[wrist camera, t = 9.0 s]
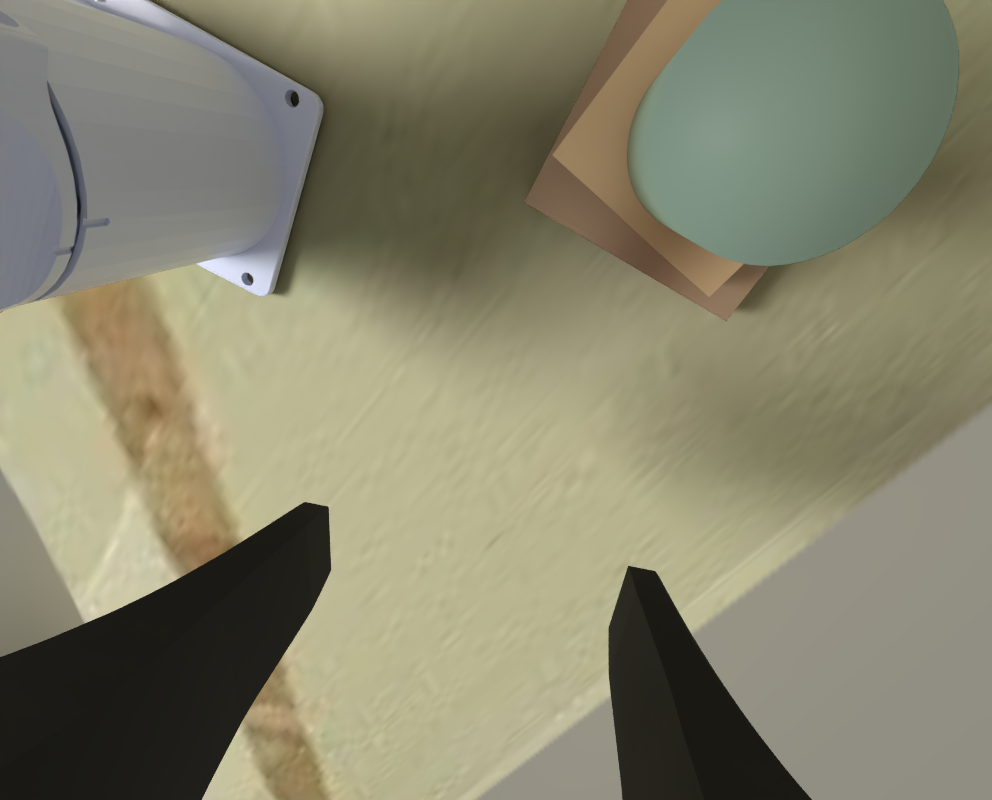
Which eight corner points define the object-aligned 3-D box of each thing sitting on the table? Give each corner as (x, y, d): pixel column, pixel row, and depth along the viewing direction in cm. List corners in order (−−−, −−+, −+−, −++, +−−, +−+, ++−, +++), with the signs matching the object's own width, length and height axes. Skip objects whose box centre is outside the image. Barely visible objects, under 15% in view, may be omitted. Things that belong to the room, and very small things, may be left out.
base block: (530, 199, 18) (524, 202, 16) (659, -50, 15) (674, -91, 12) (708, 303, 19) (725, 321, 17) (871, 88, 15) (922, 73, 13)
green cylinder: (603, 95, 12) (618, 49, 8) (793, -5, 11) (943, -130, 6) (655, 261, 14) (693, 302, 9) (829, 191, 12) (970, 200, 8)
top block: (555, 158, 15) (552, 154, 13) (704, -41, 13) (732, -88, 11) (690, 280, 16) (709, 297, 14) (853, 117, 14) (907, 105, 12)
